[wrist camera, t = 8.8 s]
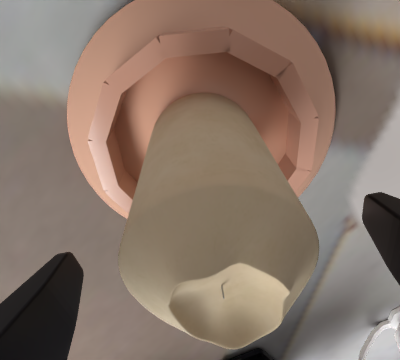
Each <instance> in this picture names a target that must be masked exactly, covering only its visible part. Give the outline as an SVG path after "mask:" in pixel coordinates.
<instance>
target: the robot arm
mask: <svg viewBox="0 0 400 360" xmlns="http://www.w3.org/2000/svg"><path fill="white" fill-rule="evenodd" d="M362 220H363V223H364V225H365V227H366V229H367V231H368V233H369V234H370V236H371V238H372V240H373V242H374V244H375V245H376V247H377V249H378V251H379V253H380V254H381V256H382V258H383V260H384V262H385V264H386V265H387V267H388V269H389V270H390V272H391V273H392V275H393V276H394V278H395V279H396V281H397V282H398V283H399V285H400V199H398V198H396V197H393V196H390V195H388V194H385V193H382V192H378V193H373V194H368V195H366V196H365V198H364V205H363V214H362ZM83 276H84V275H83V269H82V267H81V266H80V264H79V263H78V261H77V260H76V258H75V257H74V255H73V254H72V253H71V252H65V253H60V254H57V255H55V256H54V257H53V258H52V259H51V260H50V261H49V262H47V263H46V264H45V265H44V266H43V267H42V268H41V269H39V270H38V271H37V272H36V273H35V274H34V275H33V276H31V277H30V278H29V279H28V280H27V281H26V282H25V283H23V284H22V285H21V286H20V287H19V288H18V289H17V290H16V291H14V292H13V293H12V294H11V295H10V296H9V297H8V298H6V299H5V300H4V301H3V302H2V303H1V304H0V360H67V357H68V353H69V350H70V346H71V342H72V338H73V334H74V330H75V326H76V321H77V316H78V309H79V303H80V296H81V290H82V283H83ZM231 360H274V359H273V358H272V357H271V356H269V355H268V354H267V353H266V352H265V351H264V350H262V349H256V350H253V351H251V352H248V353H246V354H243V355H241V356H238V357H236V358H233V359H231Z"/></svg>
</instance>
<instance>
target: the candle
mask: <svg viewBox="0 0 400 360" xmlns="http://www.w3.org/2000/svg"><path fill="white" fill-rule="evenodd" d="M318 254H319V240H318V236H317V232H316V230H315V227H314V225H313V223H312V221H311V219H310V218H309V216H308V214H307V213H306V211H305V209H304V208H303V206H302V204H301V203H300V201H299V199H298V197H297V196H296V194H295V192H294V191H293V189H292V187H291V186H290V184H289V182H288V181H287V179H286V177H285V176H284V174H283V172H282V171H281V169H280V167H279V166H278V164H277V162H276V161H275V159H274V157H273V156H272V154H271V152H270V151H269V149H268V147H267V146H266V144H265V142H264V141H263V139H262V137H261V136H260V134H259V132H258V131H257V129H256V127H255V126H254V124H253V122H252V121H251V119H250V118H249V116H248V115H247V113H246V112H245V111H244V110H243V109H242V108H241V107H240V106H239V105H238V104H237V103H235V102H234V101H232V100H230V99H229V98H226V97H224V96H222V95H218V94H214V93H194V94H190V95H186V96H184V97H182V98H179V99H178V100H176V101H174V102H173V103H172V104H170V105H169V106H168V107H167V108H166V109H165V110H164V111H163V112H162V113H161V115H160V116H159V118H158V119H157V121H156V123H155V125H154V128H153V131H152V134H151V137H150V141H149V144H148V148H147V151H146V155H145V158H144V162H143V165H142V169H141V173H140V176H139V180H138V183H137V187H136V190H135V194H134V197H133V201H132V205H131V208H130V212H129V215H128V219H127V222H126V226H125V229H124V233H123V237H122V240H121V244H120V249H119V254H118V265H119V270H120V275H121V277H122V279H123V282H124V284H125V285H126V287H127V289H128V290H129V292H130V293H131V294H132V295H133V296H134V297H135V298H136V300H137V301H138V302H139V303H140V304H142V305H143V306H144V307H145V308H146V309H147V310H148V311H150V312H151V313H152V314H154V315H155V316H157V317H158V318H159V319H161V320H163V321H165V322H166V323H168V324H170V325H172V326H174V327H176V328H178V329H180V330H182V331H184V332H186V333H187V334H189V335H191V336H192V337H194V338H196V339H199V340H203V341H206V342H210V343H213V344H216V345H218V346H221V347H224V348H226V349H239V348H243V347H245V346H247V345H249V344H251V343H252V342H254V341H256V340H258V339H259V338H261V337H263V336H265V335H267V334H269V333H271V332H272V331H274V330H275V329H277V328H278V327H279V325H280V324H281V323H282V321H283V319H284V317H285V315H286V314H287V312H288V311H289V309H290V308H291V306H292V305H293V304H294V302H295V301H296V299H297V298H298V296H299V295H300V293H301V292H302V290H303V289H304V287H305V286H306V284H307V282H308V281H309V279H310V277H311V275H312V273H313V271H314V269H315V267H316V264H317V260H318Z"/></svg>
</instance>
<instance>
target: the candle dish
mask: <svg viewBox="0 0 400 360" xmlns="http://www.w3.org/2000/svg"><path fill="white" fill-rule="evenodd" d="M194 93H214V94H218V95H222V96H224V97H226V98H229V99H230V100H232V101H234V102H235V103H237V104H238V105H239V106H240V107H241V108H242V109H243V110H244V111H245V112H246V113H247V115H248V116H249V118H250V119H251V121H252V122H253V124H254V126H255V127H256V129H257V131H258V132H259V134H260V136H261V137H262V139H263V141H264V142H265V144H266V146H267V147H268V149H269V151H270V152H271V154H272V156H273V157H274V159H275V161H276V162H277V164H278V166H279V167H280V169H281V171H282V172H283V174H284V176H285V177H286V179H287V181H288V182H289V184H290V186H291V187H292V189H293V191H294V192H295V194H296V196H297V197H299V196H300V195H301V194H302V193H303V191H304V190H305V189H306V188H307V187H308V186H309V184H310V183H311V181H312V180H313V178H314V177H315V176H316V174H317V173H318V171H319V169H320V167H321V165H322V163H323V161H324V159H325V156H326V154H327V151H328V148H329V146H330V143H331V138H332V134H333V130H334V122H335V93H334V87H333V82H332V77H331V74H330V71H329V68H328V65H327V62H326V59H325V57H324V55H323V54H322V52H321V50H320V48H319V46H318V44H317V42H316V41H315V40H314V38H313V37H312V36H311V34H310V33H309V31H308V30H307V29H306V27H305V26H304V25H303V24H302V23H301V22H300V21H299V20H298V19H297V18H295V17H294V16H293V15H292V14H291V13H290V12H289V11H287V10H286V9H285V8H283V7H282V6H280V5H279V4H278V3H276V2H275V1H273V0H134V1H133V2H131V3H129V4H127V5H126V6H124V7H123V8H122V9H120V10H119V11H118V12H117V13H115V14H114V15H113V16H111V17H110V18H109V19H108V20H107V21H106V22H105V23H104V24H103V25H102V27H101V28H100V29H99V30H98V31H97V32H96V33H95V34H94V36H93V37H92V39H91V40H90V42H89V43H88V44H87V46H86V47H85V49H84V50H83V53H82V55H81V57H80V59H79V61H78V63H77V65H76V67H75V70H74V74H73V77H72V80H71V83H70V88H69V94H68V101H67V124H68V131H69V138H70V142H71V145H72V149H73V152H74V155H75V158H76V160H77V162H78V165H79V167H80V169H81V171H82V172H83V174H84V176H85V177H86V179H87V181H88V182H89V184H90V185H91V186H92V188H93V189H94V190H95V191H96V193H97V194H98V195H99V196H100V197H101V198H102V199H103V200H104V201H105V202H106V203H107V204H108V205H109V206H110V207H111V208H113V209H114V210H115V211H116V212H118V213H119V214H120V215H122V216H124V217H125V218H127V219H128V215H129V212H130V208H131V205H132V201H133V197H134V194H135V190H136V187H137V183H138V180H139V176H140V173H141V169H142V165H143V162H144V158H145V155H146V151H147V148H148V144H149V141H150V137H151V134H152V131H153V128H154V125H155V123H156V121H157V119H158V118H159V116H160V115H161V113H162V112H163V111H164V110H165V109H166V108H167V107H168V106H169V105H170V104H172V103H173V102H174V101H176V100H178V99H179V98H182V97H184V96H186V95H190V94H194Z"/></svg>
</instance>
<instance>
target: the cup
mask: <svg viewBox="0 0 400 360" xmlns="http://www.w3.org/2000/svg"><path fill="white" fill-rule="evenodd" d="M391 327H392V328H393V329H395V330H396V332H395V334H394V337H395V340H396V342H397V345H398V348H399V351H400V306H399V307H398V308H396V309H394V310H392V311H391V313H390V316H389V318H388V320H386V321H383V322H380V323H379V324H378V325H377V326H376V327H375V328H374V329H373V330H372V331H371V333H370V335H369V336H368V338H367V340H366V341H365V343H364V345H363V347H362V349H361V351H360V354H359V359H358V360H365V359H366V356H367V354H368V352H369V350H370V348H371V346H372V344H373V342H374V341H375V339H376V338H377V336H378V335H379V334H380V333H381V332H382V331H383V330H384V329H387V328H391Z"/></svg>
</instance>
